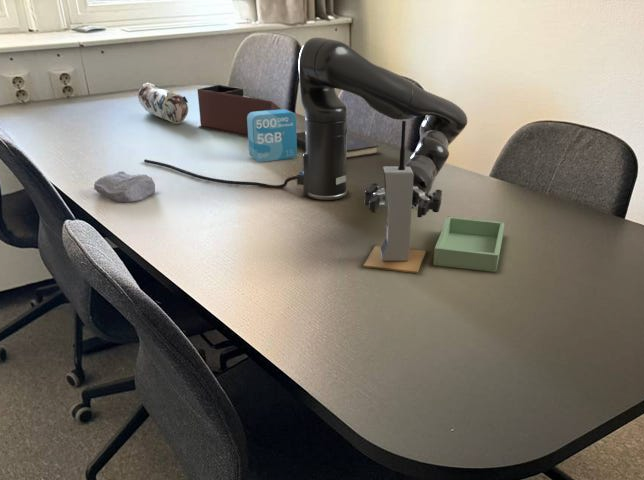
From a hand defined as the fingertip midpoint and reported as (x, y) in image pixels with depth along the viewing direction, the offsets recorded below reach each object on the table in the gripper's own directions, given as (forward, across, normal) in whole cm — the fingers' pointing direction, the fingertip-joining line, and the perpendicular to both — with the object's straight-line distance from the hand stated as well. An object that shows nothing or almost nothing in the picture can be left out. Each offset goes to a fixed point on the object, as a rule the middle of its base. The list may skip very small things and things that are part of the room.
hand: (395, 209), depth 127 cm
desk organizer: (-83, +63, -10) cm, 104 cm away
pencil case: (-91, +94, -10) cm, 132 cm away
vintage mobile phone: (0, 0, -10) cm, 10 cm away
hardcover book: (-73, +33, -10) cm, 81 cm away
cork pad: (0, 0, -10) cm, 10 cm away
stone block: (-18, +67, -10) cm, 70 cm away
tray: (-9, -13, -10) cm, 19 cm away
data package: (-58, +45, -10) cm, 74 cm away
